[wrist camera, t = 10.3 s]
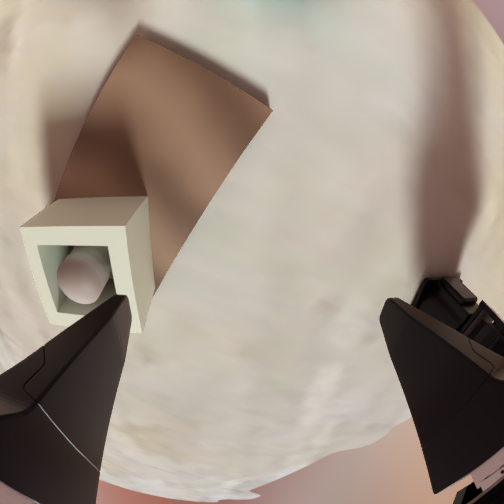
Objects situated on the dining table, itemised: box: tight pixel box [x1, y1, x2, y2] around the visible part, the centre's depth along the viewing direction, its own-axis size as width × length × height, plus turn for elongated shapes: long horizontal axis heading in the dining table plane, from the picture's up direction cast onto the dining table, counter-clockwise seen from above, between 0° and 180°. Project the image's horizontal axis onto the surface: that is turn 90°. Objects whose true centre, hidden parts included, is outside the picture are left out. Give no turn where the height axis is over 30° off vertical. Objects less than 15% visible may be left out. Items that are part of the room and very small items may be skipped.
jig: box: [54, 35, 273, 304], centre depth 15 cm, size 16×10×6 cm, turn 145°
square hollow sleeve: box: [20, 196, 155, 333], centre depth 16 cm, size 7×7×5 cm
